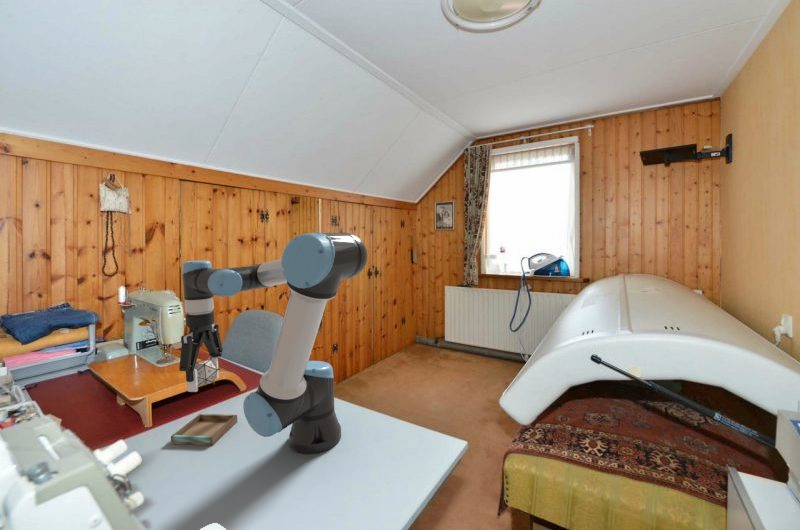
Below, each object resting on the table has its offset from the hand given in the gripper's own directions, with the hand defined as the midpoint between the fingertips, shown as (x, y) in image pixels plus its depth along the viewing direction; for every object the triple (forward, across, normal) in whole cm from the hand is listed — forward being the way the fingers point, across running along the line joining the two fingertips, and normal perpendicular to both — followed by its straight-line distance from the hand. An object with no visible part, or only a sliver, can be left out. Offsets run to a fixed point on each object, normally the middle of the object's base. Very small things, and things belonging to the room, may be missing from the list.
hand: (204, 383), depth 107 cm
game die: (+1, 0, 0) cm, 1 cm away
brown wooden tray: (+16, -1, -1) cm, 16 cm away
